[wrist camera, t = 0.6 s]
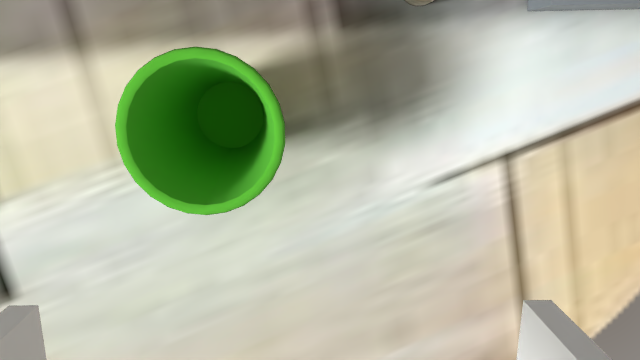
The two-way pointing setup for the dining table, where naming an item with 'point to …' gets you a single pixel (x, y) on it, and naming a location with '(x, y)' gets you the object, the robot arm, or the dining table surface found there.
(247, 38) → the dining table surface
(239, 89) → the cup
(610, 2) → the grey block with hole
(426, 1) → the long pin
